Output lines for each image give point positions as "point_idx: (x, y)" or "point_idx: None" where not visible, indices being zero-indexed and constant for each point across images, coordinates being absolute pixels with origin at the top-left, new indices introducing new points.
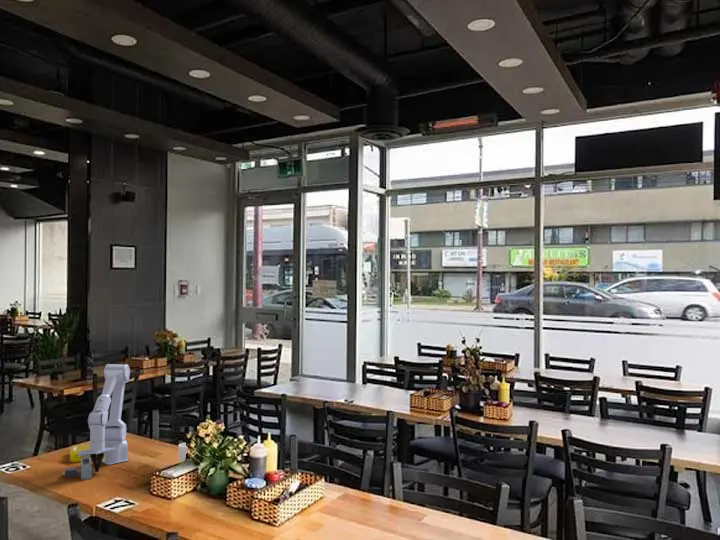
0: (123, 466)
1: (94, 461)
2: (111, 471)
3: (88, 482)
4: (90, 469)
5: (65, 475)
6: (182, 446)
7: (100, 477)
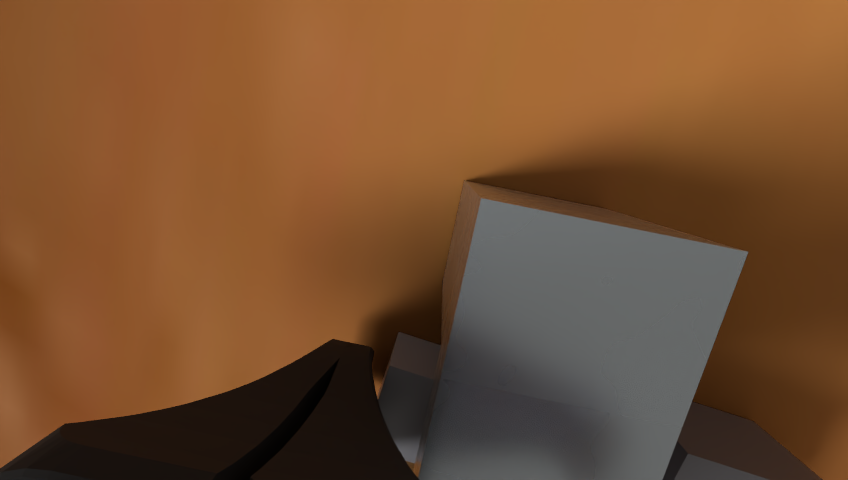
0: (9, 431)
1: (355, 441)
2: (168, 328)
3: (552, 21)
4: (503, 197)
5: (772, 441)
6: None
7: (345, 159)
